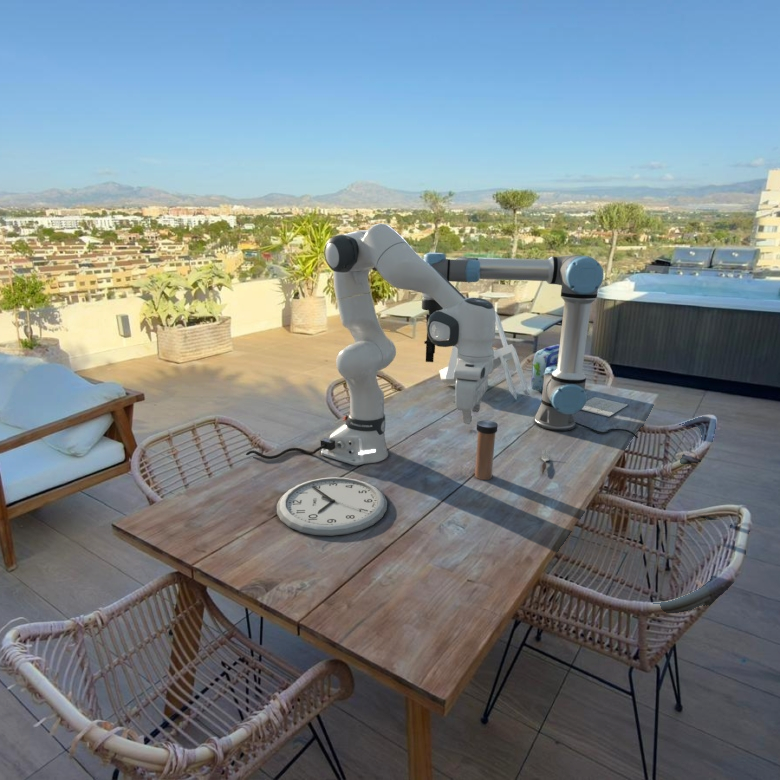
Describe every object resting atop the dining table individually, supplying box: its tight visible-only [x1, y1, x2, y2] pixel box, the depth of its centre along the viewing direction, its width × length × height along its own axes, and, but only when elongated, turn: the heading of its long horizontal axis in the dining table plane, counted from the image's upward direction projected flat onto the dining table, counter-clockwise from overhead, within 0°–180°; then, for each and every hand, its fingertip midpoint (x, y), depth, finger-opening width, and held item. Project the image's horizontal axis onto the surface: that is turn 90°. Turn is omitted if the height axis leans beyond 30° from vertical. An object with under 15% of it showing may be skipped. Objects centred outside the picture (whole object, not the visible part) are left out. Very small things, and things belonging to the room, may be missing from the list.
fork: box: [541, 449, 551, 474], centre depth 169 cm, size 3×16×2 cm, turn 160°
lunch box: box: [530, 344, 560, 393], centre depth 247 cm, size 26×11×21 cm, turn 134°
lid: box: [476, 419, 499, 434], centre depth 156 cm, size 6×6×2 cm
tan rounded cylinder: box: [474, 431, 496, 481], centre depth 159 cm, size 5×5×17 cm
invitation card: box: [580, 396, 629, 418], centre depth 226 cm, size 21×1×15 cm
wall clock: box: [276, 476, 388, 537], centre depth 142 cm, size 30×2×30 cm
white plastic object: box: [438, 310, 531, 400], centre depth 245 cm, size 37×45×31 cm
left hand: (471, 416), depth 134 cm, fingers open, 8 cm apart
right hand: (430, 357), depth 190 cm, fingers open, 13 cm apart
